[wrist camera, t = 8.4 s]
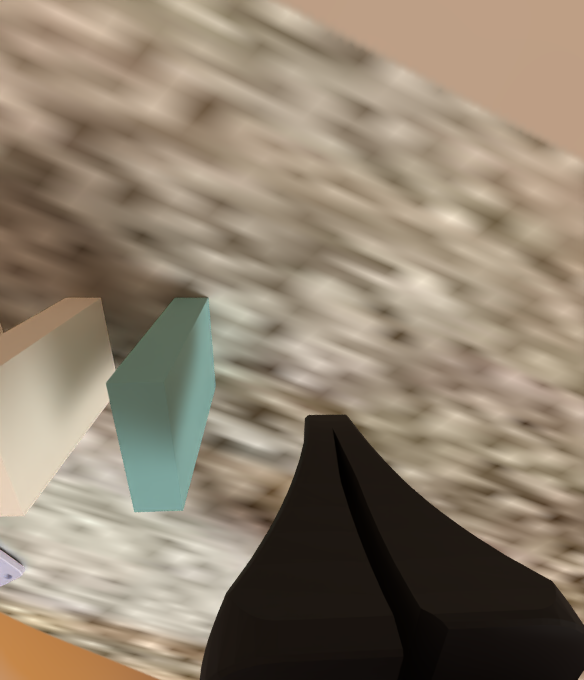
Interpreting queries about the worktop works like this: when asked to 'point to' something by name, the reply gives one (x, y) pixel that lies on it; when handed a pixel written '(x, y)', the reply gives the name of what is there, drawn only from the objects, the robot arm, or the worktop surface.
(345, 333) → the worktop surface
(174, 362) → the end tile
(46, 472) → the domino
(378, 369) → the worktop surface
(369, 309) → the worktop surface
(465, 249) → the worktop surface
